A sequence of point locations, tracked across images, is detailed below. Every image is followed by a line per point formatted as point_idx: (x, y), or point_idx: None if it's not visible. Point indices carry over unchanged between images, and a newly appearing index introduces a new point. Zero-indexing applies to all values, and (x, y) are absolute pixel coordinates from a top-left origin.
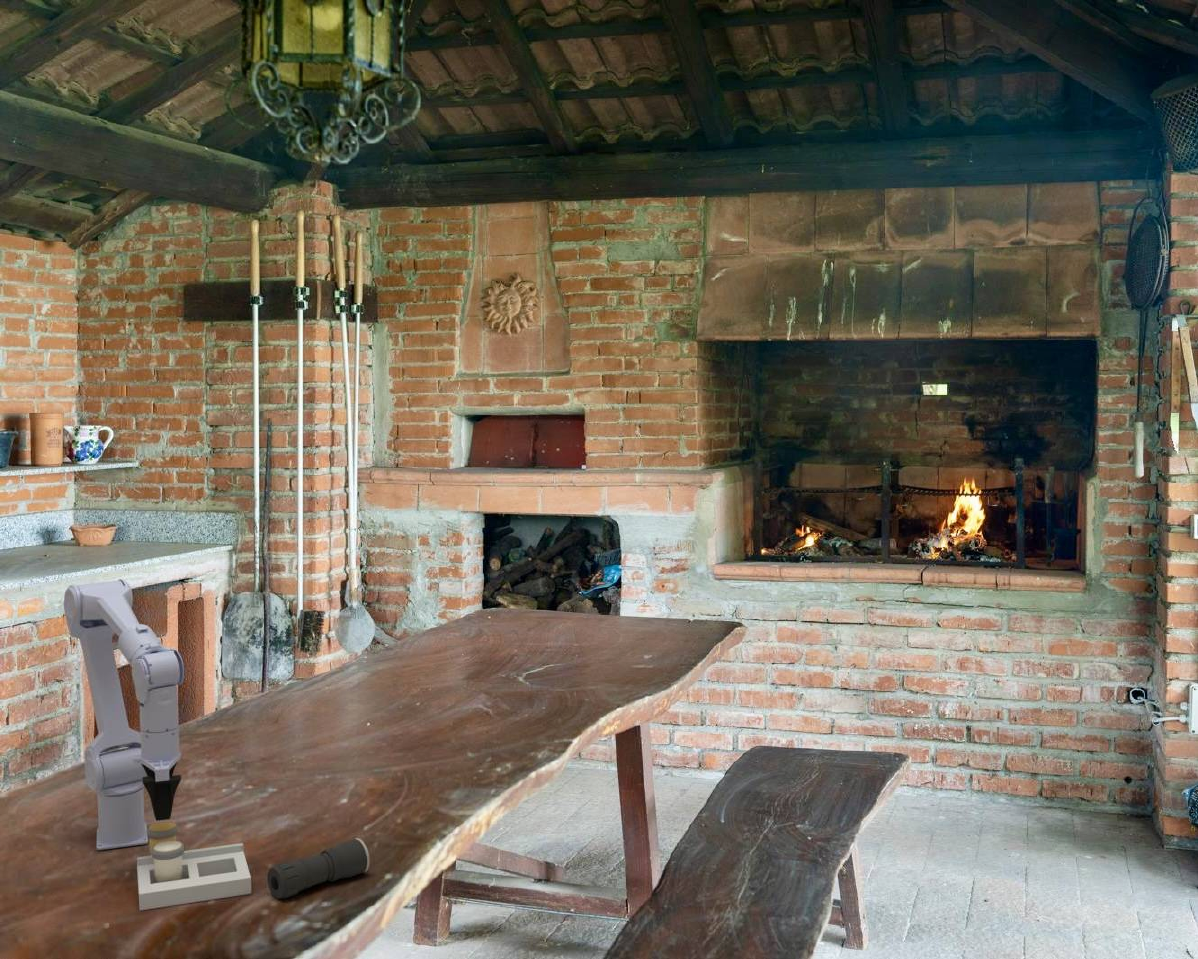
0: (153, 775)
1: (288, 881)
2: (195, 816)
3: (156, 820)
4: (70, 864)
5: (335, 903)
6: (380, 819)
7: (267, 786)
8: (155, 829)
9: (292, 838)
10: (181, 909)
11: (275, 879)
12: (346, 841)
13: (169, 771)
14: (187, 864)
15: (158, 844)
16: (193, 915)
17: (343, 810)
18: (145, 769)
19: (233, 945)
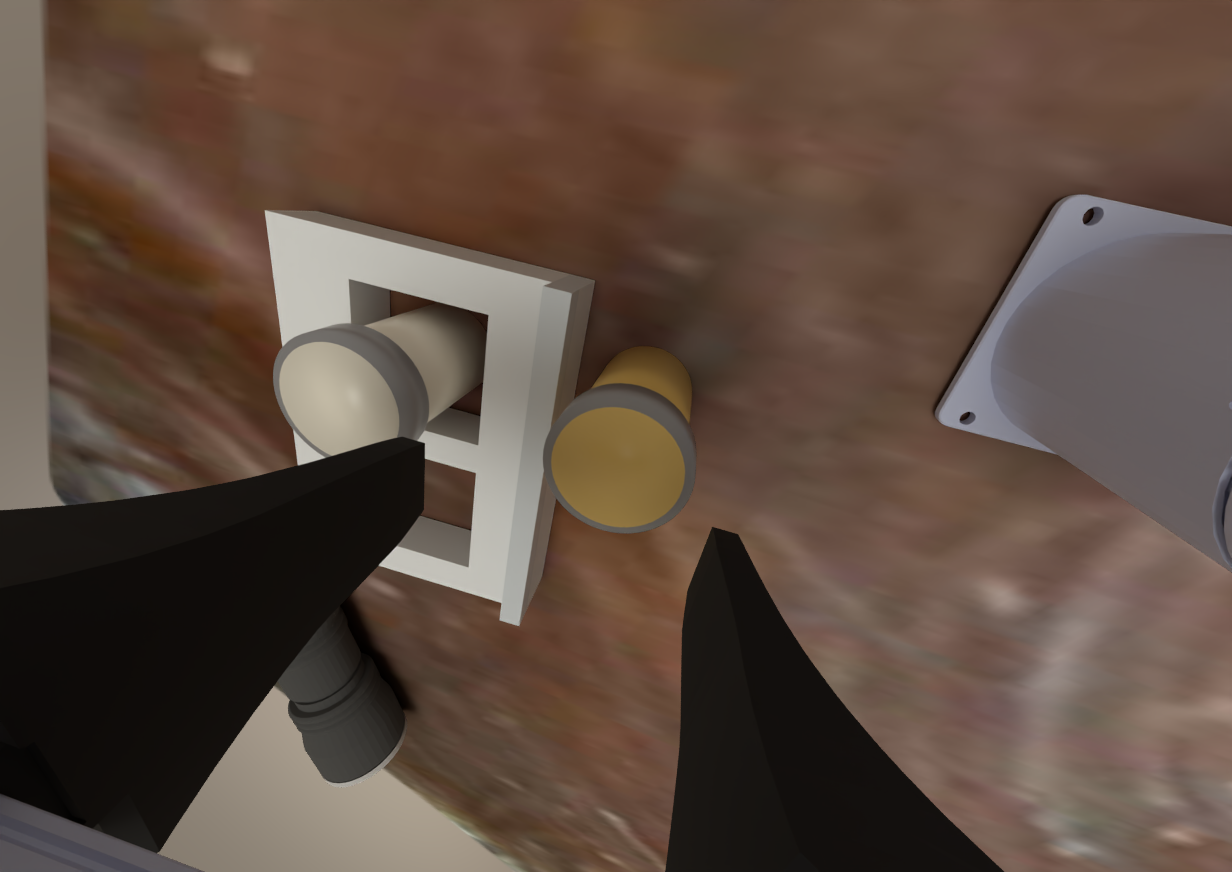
0: (723, 736)
1: None
2: (1073, 637)
3: (399, 438)
4: (1002, 8)
5: None
6: (639, 848)
7: (1118, 855)
8: (583, 429)
9: (646, 715)
10: None
11: None
12: (340, 767)
13: (676, 851)
14: (477, 445)
15: (367, 376)
16: (247, 351)
17: None
18: (766, 782)
19: (67, 376)
